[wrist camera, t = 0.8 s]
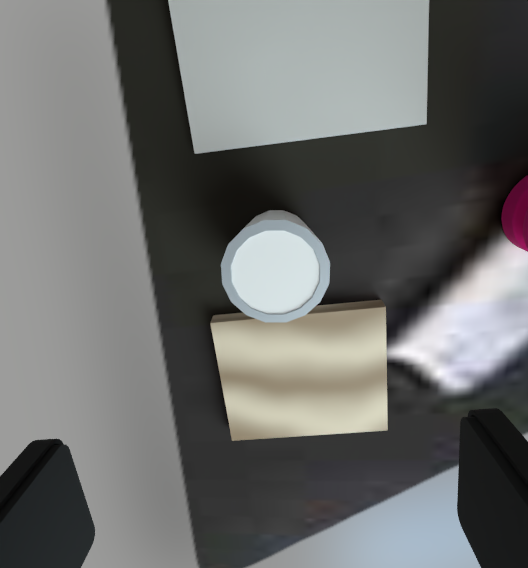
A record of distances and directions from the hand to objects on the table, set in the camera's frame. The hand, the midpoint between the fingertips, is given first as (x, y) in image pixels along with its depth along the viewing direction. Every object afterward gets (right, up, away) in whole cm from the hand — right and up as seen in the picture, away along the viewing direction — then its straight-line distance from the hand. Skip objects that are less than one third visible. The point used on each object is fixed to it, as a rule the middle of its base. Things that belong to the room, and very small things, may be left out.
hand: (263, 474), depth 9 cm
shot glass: (+1, +8, +22) cm, 23 cm away
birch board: (+3, -3, +25) cm, 26 cm away
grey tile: (+2, +20, +17) cm, 27 cm away
